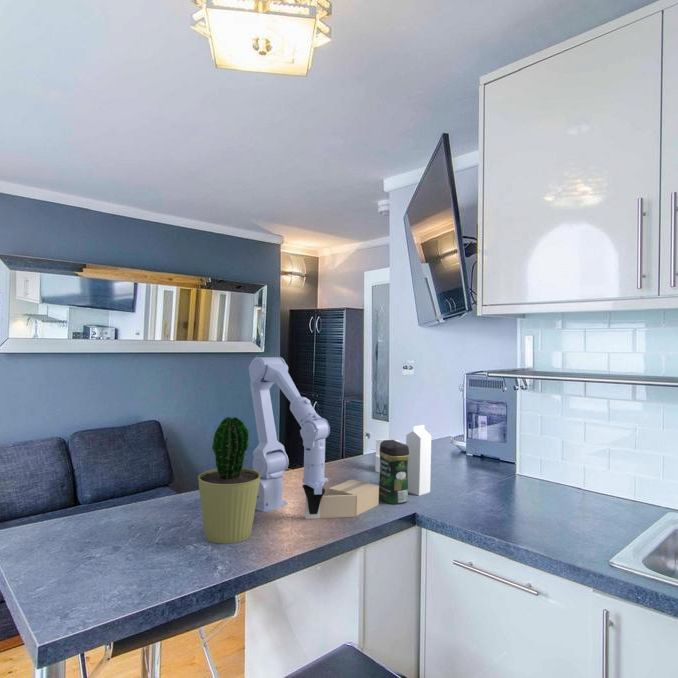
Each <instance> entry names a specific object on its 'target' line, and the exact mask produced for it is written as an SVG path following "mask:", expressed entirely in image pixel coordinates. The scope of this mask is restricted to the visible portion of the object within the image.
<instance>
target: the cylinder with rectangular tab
mask: <svg viewBox="0 0 678 678" xmlns="http://www.w3.org/2000/svg"><path fill="white" fill-rule="evenodd" d="M383 440H395V441H397V442H400V439H394V438H393V439H392V438H391V439H390V438H381V437H379V438H375V460H374V461H375V462H374V463H375V465H374V466H375V467H374V471H375V472H376V473H378V472H379V473H378V474H380V453H379V451H380V444H381V442H382V441H383Z"/></svg>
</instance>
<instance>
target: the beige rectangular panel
mask: <svg viewBox="0 0 678 678" xmlns="http://www.w3.org/2000/svg"><path fill="white" fill-rule="evenodd" d="M304 512H305V513H304V514H305V515H304V519H305V520H306V519H307V520H308V519H328V518H329V519H331V518H332V519H333V518H334V519H335V518H337V519H338V518H356V515H355V513H356V495H332V496H329V495H323V496H322V499H321V501H320V505H319V510H318V513H317V514H310V513H309V508H308V500H307V496H306V495H305V511H304Z"/></svg>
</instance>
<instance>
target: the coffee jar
mask: <svg viewBox="0 0 678 678" xmlns="http://www.w3.org/2000/svg"><path fill="white" fill-rule="evenodd" d="M395 440H396V439H393V440H383V441H382V442H381V444H380V451H379V453H380V473H379V480H378V486H379V500H380V499H381V500H382V501H383V502H385V503H387V504H389V505H403V504H405V503H407V502H408V501H409V492H408V459H409V447H408V446H407V445H406V443H402V442H400V441H399V442H397V441H395Z"/></svg>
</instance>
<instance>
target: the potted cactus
mask: <svg viewBox="0 0 678 678" xmlns="http://www.w3.org/2000/svg"><path fill="white" fill-rule="evenodd" d="M223 417H224V418H222V421H221V419H220V420H219V421H220V423H219V424H218V425H217V427H216V426H215V425H214V429H215V430H214V435H212V436H211V439H213V440H212V441H213V442H212V441H211V442H210V443H211V444H212V447H211V449H210V452H211V453H212V452H213V453H212V455H213V456H214V457H215V458H214V459H215V460H214V462H215V467H216V468H214V469H210V470H206V471H204V472H202V473H200V474H199V475H198V476H197V479H198V487H199V488H198V489H199V496H200V506H201V513H202V522H203V531H204V536H205V539H206V540H207V541H208V542H210V543H214V544H221V545H223V544H226V545H227V544H234V543H238V542H243V541H245V540H247V539H248V538H250V536H251V534H252V529H253V525H254V524H253V523H254V517H255V512H256V509H255V507H256V501H257V495H258V489H259V483H260V477H261V474H260V473H259V472H258V471H255V470H253V468H252V469H250V468H246V467H245V468H243V467H244V466H243V465H244V462H246V461H247V462H248V460H246V459H244V458H245V457H246V456H247V453H246V451H249V450H248V449H250V450H252V447H250V442H251V441H250V438H249V436H250V433H251V430H249V429H248V428H247V425H246V424H245V423H244V421H243V417H242V418H241V419H240V418H239V417H237V416H234V417H232V416H228V417H225V416H223ZM216 428H217V429H216Z"/></svg>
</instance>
